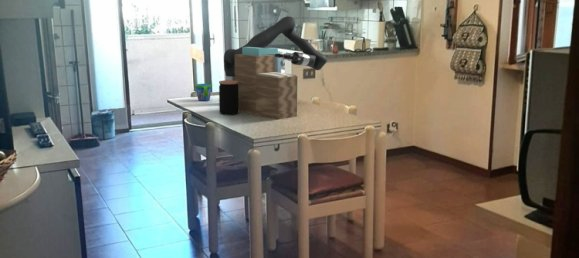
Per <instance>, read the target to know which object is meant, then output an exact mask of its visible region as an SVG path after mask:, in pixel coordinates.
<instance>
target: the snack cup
mask: <svg viewBox="0 0 579 258" xmlns="http://www.w3.org/2000/svg"><path fill="white" fill-rule="evenodd" d="M194 87H195V91H196V96H197V100H198V101H199V102H208V101H210V100H211V94H212V88H213V84H211V83H196V84H195V85H194Z"/></svg>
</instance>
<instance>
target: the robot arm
mask: <svg viewBox="0 0 579 258" xmlns="http://www.w3.org/2000/svg"><path fill="white" fill-rule="evenodd" d="M295 27H296V20H295V18H294V17H292V16H290V15H287V16H284V17H282V18H281V19H280V20H278V21H277V22H275V23H274V24H273V25H271V26H270V27H268V28H266V29H264V30H263V31H260V32H259V33H257V34H255V35H254V36H253V37H251V38H250V39H249V41H248V42H247V43H246V44H245V45H243V46H241V47H239V48H235V49H234V48H229V49H226V50H225V52H224V55H223V68H224V69H223V70H224V72H225V80H234V81H235V54H242V47H257V48H267V47H268V46H269V45H271V44H272V43H273V42H274V41H275V40H276V39H277V37H279V36H280V35H281V34H282V35H283V36H284V37H286V38H287V39H288V40H289V41H290V42H292V43H293V44H294V45H295V46H296V47H297V48H298V49H299V50H300V51H301V52H298V51H294V52H292V53H285V52H284V53H280V52H278V54H274V55H275V57H276V58H278V59H282V60H286V61H290V62H291V64H292V65H295V66H300V67H301V66H305V67H309V68H312V69H313V70H314V71H320V70H321V69H322V68H324V66H325V65H326V64H327V62H328V59H327V56H326V55H325V54H324V53H322V52H320V51H319V50H317V49H316V48H315V47H314V45H312V44H311V43H310V42H309V40H307V39H305V38H303V37H301V36H299V35H298V34H297V32H296V31H295Z"/></svg>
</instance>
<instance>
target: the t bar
mask: <svg viewBox="0 0 579 258" xmlns="http://www.w3.org/2000/svg"><path fill="white" fill-rule="evenodd" d="M241 47H242V54H244V55H254V56H266V55H275V54H279V48H277V47H276V48H275V47H272V48H271V47H269V48H267V47H265V48H257V47H243V46H241Z"/></svg>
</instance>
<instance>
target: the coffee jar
mask: <svg viewBox="0 0 579 258" xmlns="http://www.w3.org/2000/svg"><path fill="white" fill-rule="evenodd" d="M218 82H219V85H218V94H219V95H218V97H219V99H218V101H219V107H218V108H219V109H218V110H219V114H220V115H223V116H235V115H238V114H239V112H240V111H239V95H238V81H234V80H226V79H225V80H219V81H218Z"/></svg>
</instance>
